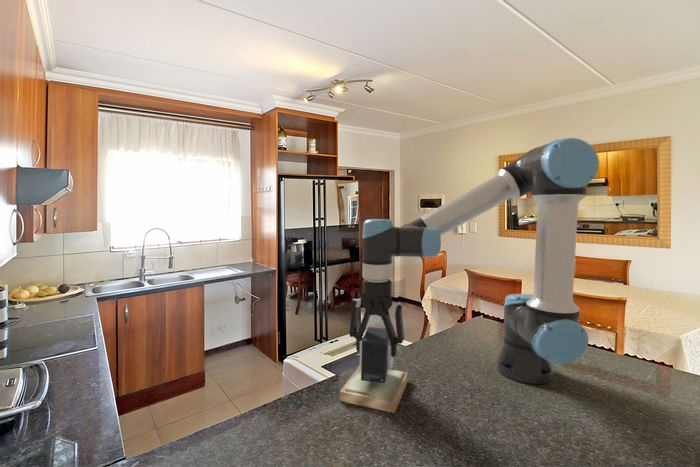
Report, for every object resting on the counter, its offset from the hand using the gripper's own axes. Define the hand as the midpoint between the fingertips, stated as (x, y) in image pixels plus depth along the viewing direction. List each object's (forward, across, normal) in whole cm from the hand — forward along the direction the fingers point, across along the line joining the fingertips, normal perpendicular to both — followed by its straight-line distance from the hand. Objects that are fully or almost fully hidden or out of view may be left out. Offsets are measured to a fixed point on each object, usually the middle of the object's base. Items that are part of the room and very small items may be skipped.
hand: (376, 365), depth 92 cm
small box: (+2, 0, 0) cm, 2 cm away
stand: (+7, 0, 0) cm, 7 cm away
